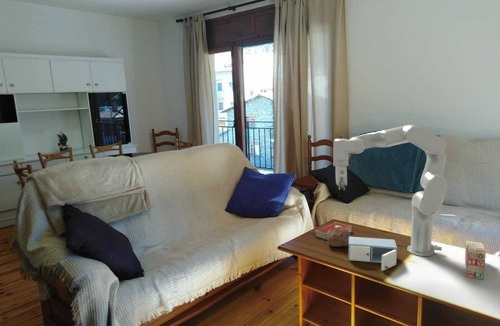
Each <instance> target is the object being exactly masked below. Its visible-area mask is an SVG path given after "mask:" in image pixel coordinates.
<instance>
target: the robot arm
mask: <svg viewBox="0 0 500 326" xmlns="http://www.w3.org/2000/svg"><path fill="white" fill-rule="evenodd" d="M408 143H411V144H412V145H414V146H416V147H417V148H419V149H421V150H422V151H424V152H425V155H426V162H425V165H424V169H423V171H422V175H421V178H420V181H419V183H420V186H421V187H422V188H423V189H424V190H420V191H417V192H415V193H414V194H413V196H411V212H412V213H411V232H410V234H411V235H410V245H408V246H407V248H406V250H407V251H408V252H409V253H410V254H412V255H415V256H419V257H431V256H433V255H434V254H435V251H443V250H442V249H443V248H442V246H438V244H432V239H433V237H432V236H433V225H434V216H435V215H437V214H438V213H439V211H440V210H441V209H442V206H443V203H444V200H445V197H446V195H447V191H448V186H449V185H448V181H447V179H446V177H444V176H443V174H444V170H445V169H446V163H447V155H446V151H445V150H446V149H447V143H446V140H444V139H443V138H442V137H440V136H438V135H436V134H434V133H432V132H431V131H428V130H427V129H425V128H423V127H421V126H419V125H416V124H405V125H401V126H398V127H397V126H395V127H393V128H388V129H384V130H380V131H376V132H370V133H366V134H365V133H364V134H362V135H357V136H353V137H351V138H350V139H347V138H335V139H334V140H333V144H332V145H333V155H332V156H333V158H332V160H333V164H332V165H333V167H335V183H336V191H335V192H336V193H337V196H338V198H340V199H342V198H345V197H346V188H345V187H346V186H347V185H348V172H347V171H348V168H347V167H348V166H349V154H361V153H363V152H364V151H365V149H370V148H389V147H392V146H397V145H401V144H408Z"/></svg>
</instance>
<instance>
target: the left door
mask: <svg viewBox="0 0 500 326" xmlns="http://www.w3.org/2000/svg"><path fill="white" fill-rule="evenodd" d="M397 260H398V247H397V248H395V250H393V251H390V252H388V253H386V254H383V255H382V263H380V264H381V266H380V267H381V269H380V270H381V271H383V272H384V271H385V270H388V269H390V268H392V267H394V266H397V262H398V261H397Z"/></svg>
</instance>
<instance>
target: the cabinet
mask: <svg viewBox="0 0 500 326" xmlns="http://www.w3.org/2000/svg"><path fill="white" fill-rule="evenodd" d="M395 248H397V249H398V246H397V244H396V240H395V239H391V238H390V239H388V238H378V237H377V238H375V237H361V236H352V237H349V243H348V261H354V262H364V263H365V262H366V263H377V264H378V263H379V264H382V255H383V254H386V253H388V252H390V251H393V250H395Z"/></svg>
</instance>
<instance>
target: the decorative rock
mask: <svg viewBox="0 0 500 326" xmlns="http://www.w3.org/2000/svg"><path fill="white" fill-rule="evenodd" d="M327 237H328V240H327V243H328V244H329V246H331V247H333V248H334V247H336V248H340V247H347V246H349V237H353V236H352V232H350V231H349V230H348V229H345V228H343V229H342V228H341V229H331V230H328V232H327Z"/></svg>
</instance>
